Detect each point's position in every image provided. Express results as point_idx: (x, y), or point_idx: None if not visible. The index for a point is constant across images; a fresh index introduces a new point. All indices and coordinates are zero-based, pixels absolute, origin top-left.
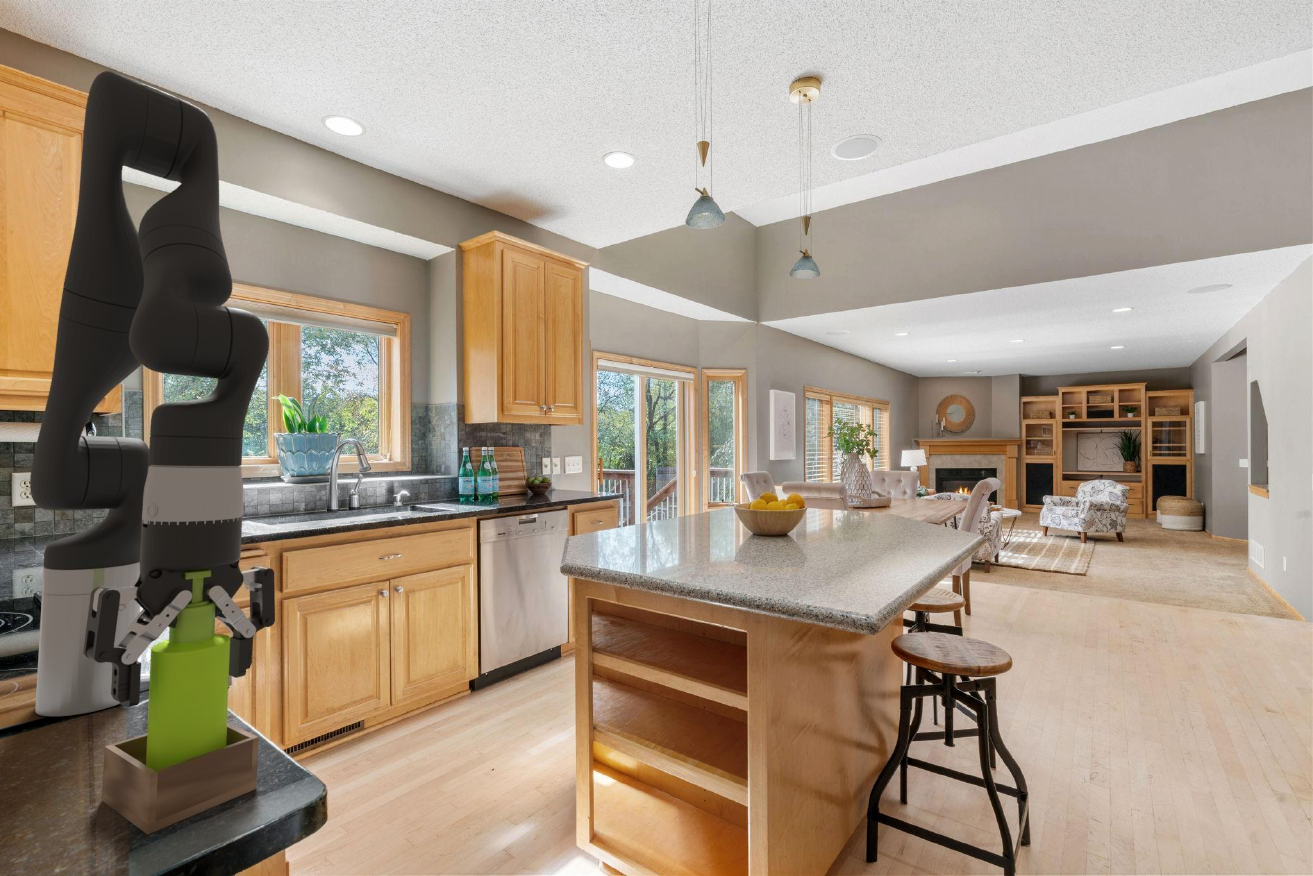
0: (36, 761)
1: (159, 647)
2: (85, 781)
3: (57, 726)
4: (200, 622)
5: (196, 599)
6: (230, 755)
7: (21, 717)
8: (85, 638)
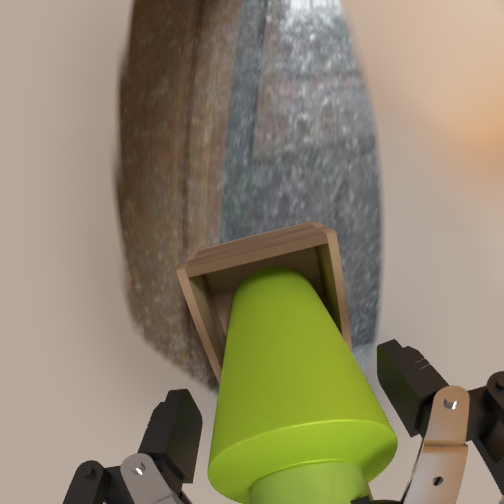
0: (141, 68)
1: (226, 488)
2: (179, 171)
3: None
4: None
5: None
6: None
7: None
8: (69, 494)
